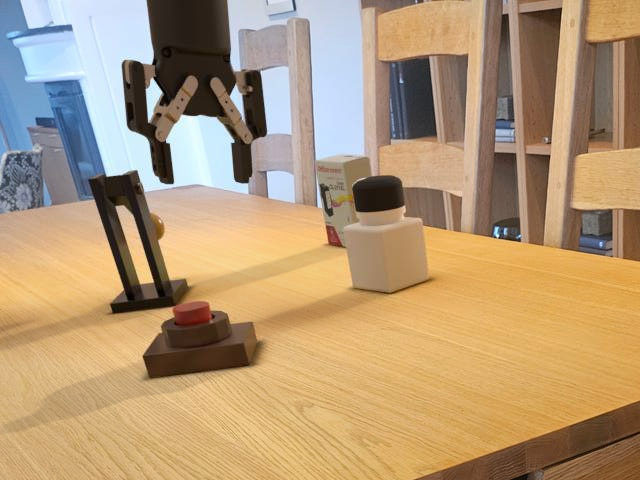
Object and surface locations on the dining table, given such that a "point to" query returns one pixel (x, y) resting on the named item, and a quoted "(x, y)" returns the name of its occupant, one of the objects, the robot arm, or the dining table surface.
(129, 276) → the bracket
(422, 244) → the medicine bottle
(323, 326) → the dining table surface
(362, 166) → the ink box
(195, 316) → the release button
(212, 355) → the block
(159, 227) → the ball knob lever
